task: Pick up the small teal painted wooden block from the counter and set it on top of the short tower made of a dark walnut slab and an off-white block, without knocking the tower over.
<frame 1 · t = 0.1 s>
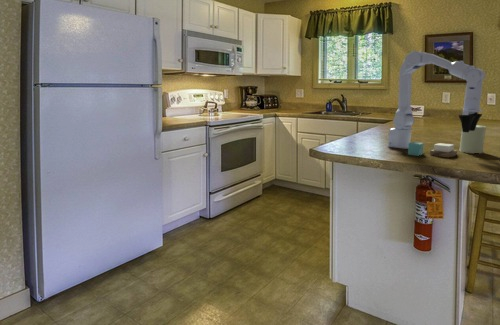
hand: (468, 131, 155), 10 cm above the countertop, tool pointing down, fingers open, 7 cm apart
can: (470, 152, 164), on the countertop
walnut slab: (443, 156, 157), on the countertop, touching white block
white block: (443, 150, 157), point 2 cm above the countertop, touching walnut slab
teal block: (415, 154, 158), on the countertop
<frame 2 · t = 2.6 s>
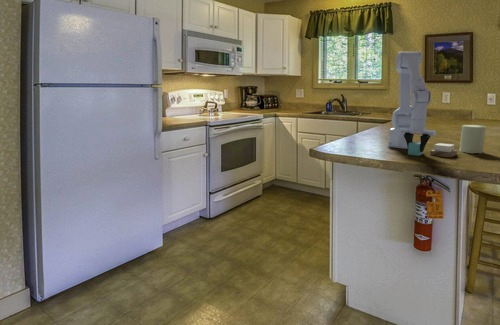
hand: (415, 151, 158), 1 cm above the countertop, tool pointing down, fingers closed on teal block, 4 cm apart
teal block: (415, 154, 158), on the countertop, touching gripper
everything else where it was.
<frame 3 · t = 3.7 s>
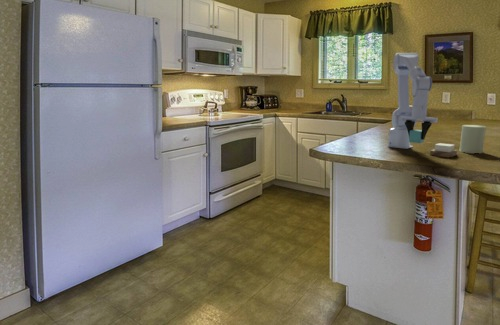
hand: (416, 138, 157), 7 cm above the countertop, tool pointing down, fingers closed on teal block, 4 cm apart
teal block: (416, 142, 157), point 5 cm above the countertop, touching gripper
everything else where it was.
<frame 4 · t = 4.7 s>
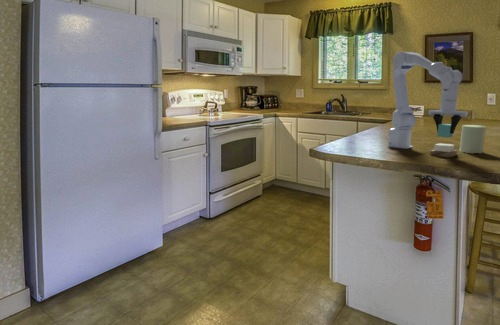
hand: (445, 132, 155), 9 cm above the countertop, tool pointing down, fingers closed on teal block, 4 cm apart
teal block: (444, 136, 155), point 8 cm above the countertop, touching gripper
everything else where it was.
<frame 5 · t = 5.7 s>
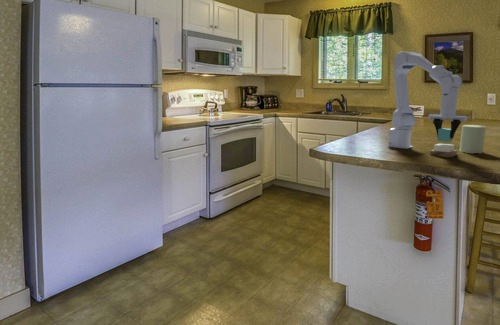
hand: (445, 137, 155), 8 cm above the countertop, tool pointing down, fingers closed on teal block, 4 cm apart
teal block: (444, 140, 156), point 6 cm above the countertop, touching gripper
everything else where it was.
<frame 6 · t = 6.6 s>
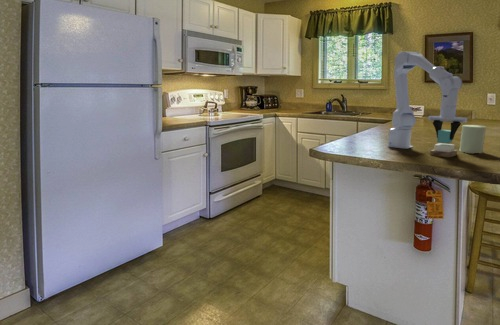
hand: (445, 138, 155), 7 cm above the countertop, tool pointing down, fingers closed on teal block, 4 cm apart
teal block: (444, 142, 156), point 5 cm above the countertop, touching gripper
everything else where it was.
when the fingers open (7 cm above the countertop, at t = 7.0 s): teal block drops 1 cm, resting on white block.
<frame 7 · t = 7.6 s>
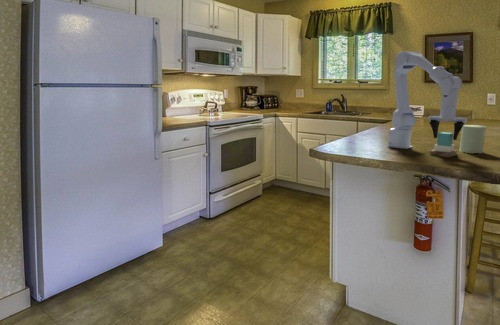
hand: (445, 138, 155), 7 cm above the countertop, tool pointing down, fingers open, 7 cm apart
white block: (443, 150, 156), point 2 cm above the countertop, touching teal block, walnut slab
teal block: (444, 144, 156), point 4 cm above the countertop, touching white block
everything else where it was.
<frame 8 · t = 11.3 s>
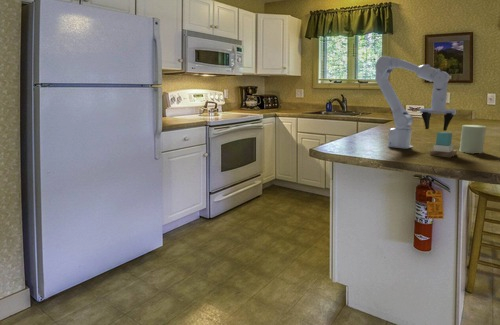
hand: (435, 129, 166), 9 cm above the countertop, tool pointing down, fingers open, 7 cm apart
nothing on the countertop moved.
at the end: teal block 0.5 cm off-centre on the white block, point 2.5 cm above the white block's base; white block 0.2 cm off-centre on the walnut slab, point 2.5 cm above the walnut slab's base; teal block tilted 0° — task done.
